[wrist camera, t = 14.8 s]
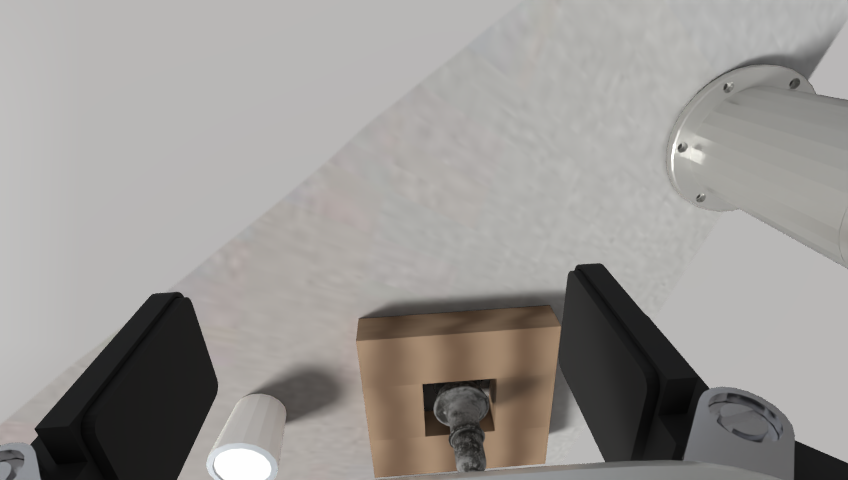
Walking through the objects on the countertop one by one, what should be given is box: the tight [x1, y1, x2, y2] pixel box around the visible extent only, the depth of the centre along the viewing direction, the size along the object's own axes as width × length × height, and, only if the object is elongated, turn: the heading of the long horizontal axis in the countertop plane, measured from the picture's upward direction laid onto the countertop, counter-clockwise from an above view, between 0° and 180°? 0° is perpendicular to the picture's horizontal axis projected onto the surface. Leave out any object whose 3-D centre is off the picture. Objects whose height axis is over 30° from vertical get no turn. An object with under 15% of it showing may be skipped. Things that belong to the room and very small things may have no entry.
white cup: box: [206, 394, 287, 480], centre depth 47 cm, size 7×7×7 cm
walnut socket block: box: [356, 305, 561, 478], centre depth 49 cm, size 20×20×4 cm
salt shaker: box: [434, 380, 489, 473], centre depth 45 cm, size 6×6×12 cm
